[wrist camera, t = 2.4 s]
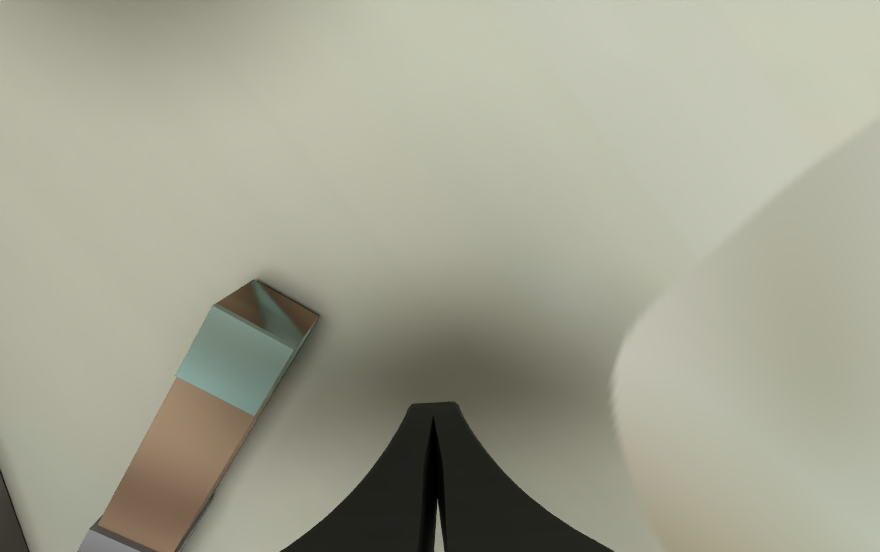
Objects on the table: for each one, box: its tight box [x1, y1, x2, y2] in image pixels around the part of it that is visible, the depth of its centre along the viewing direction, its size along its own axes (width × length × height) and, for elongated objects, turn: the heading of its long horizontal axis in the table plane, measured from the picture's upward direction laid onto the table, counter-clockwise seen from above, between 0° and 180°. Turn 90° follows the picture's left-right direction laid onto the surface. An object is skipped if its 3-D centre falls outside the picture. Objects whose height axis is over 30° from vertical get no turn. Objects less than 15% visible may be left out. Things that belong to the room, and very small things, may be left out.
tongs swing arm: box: [77, 280, 319, 552], centre depth 14 cm, size 15×3×3 cm, turn 147°
